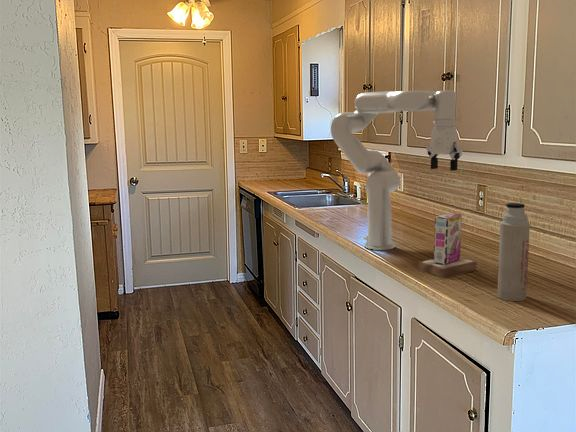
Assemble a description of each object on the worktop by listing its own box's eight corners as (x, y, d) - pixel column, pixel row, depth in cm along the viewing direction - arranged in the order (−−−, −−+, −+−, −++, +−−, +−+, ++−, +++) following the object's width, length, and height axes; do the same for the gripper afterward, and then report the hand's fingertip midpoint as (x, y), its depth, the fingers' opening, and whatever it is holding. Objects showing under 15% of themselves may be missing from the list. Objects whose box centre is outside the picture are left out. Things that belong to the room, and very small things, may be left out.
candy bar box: (446, 265, 194) (447, 218, 191) (433, 263, 197) (434, 216, 195) (461, 259, 202) (462, 213, 200) (448, 257, 206) (449, 212, 203)
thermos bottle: (531, 297, 169) (536, 203, 164) (516, 302, 164) (520, 206, 159) (507, 291, 175) (511, 200, 170) (491, 296, 170) (495, 203, 166)
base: (418, 270, 201) (418, 261, 200) (449, 263, 209) (449, 255, 209) (444, 277, 191) (444, 268, 190) (476, 270, 200) (476, 261, 199)
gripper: (420, 124, 220) (420, 168, 223) (456, 124, 205) (454, 171, 208) (434, 123, 224) (433, 167, 226) (470, 123, 209) (468, 170, 212)
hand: (443, 169), depth 217 cm, fingers open, 9 cm apart
